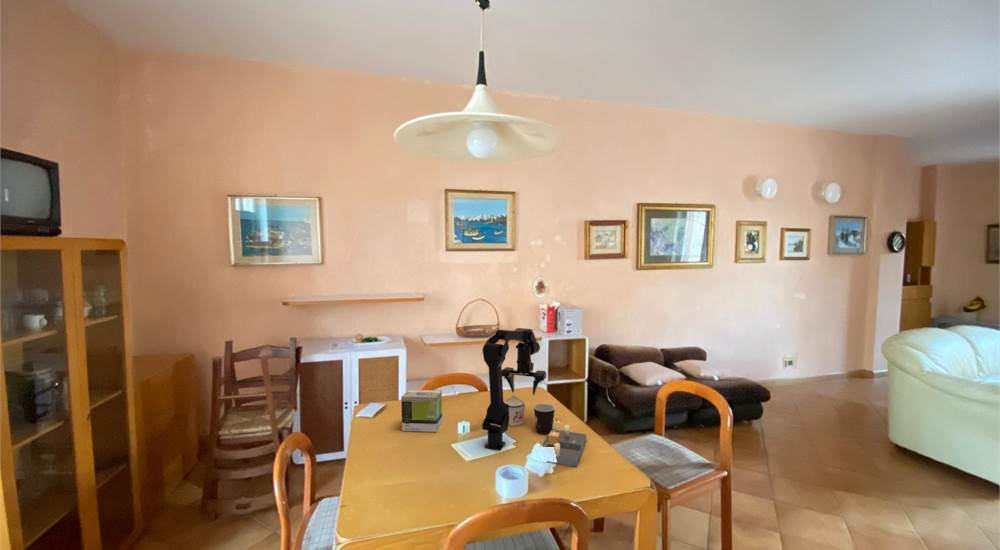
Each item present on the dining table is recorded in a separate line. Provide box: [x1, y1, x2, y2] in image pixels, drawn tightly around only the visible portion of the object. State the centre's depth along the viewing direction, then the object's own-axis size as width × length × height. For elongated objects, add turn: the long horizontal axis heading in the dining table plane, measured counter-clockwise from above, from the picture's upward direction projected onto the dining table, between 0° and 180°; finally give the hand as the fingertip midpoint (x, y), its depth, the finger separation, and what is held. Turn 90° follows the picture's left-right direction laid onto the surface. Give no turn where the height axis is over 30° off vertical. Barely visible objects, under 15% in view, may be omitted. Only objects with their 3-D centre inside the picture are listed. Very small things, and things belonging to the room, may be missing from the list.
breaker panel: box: [541, 428, 587, 468], centre depth 156 cm, size 22×14×3 cm, turn 159°
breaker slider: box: [549, 432, 560, 445], centre depth 155 cm, size 4×4×4 cm
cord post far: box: [563, 424, 570, 437], centre depth 162 cm, size 2×2×4 cm
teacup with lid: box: [503, 395, 526, 427], centre depth 182 cm, size 12×9×12 cm
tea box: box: [400, 389, 443, 433], centre depth 176 cm, size 15×10×15 cm
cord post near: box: [554, 443, 560, 457], centre depth 146 cm, size 2×2×4 cm
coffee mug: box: [533, 403, 556, 436], centre depth 174 cm, size 12×9×10 cm
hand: (523, 393), depth 179 cm, fingers open, 9 cm apart
